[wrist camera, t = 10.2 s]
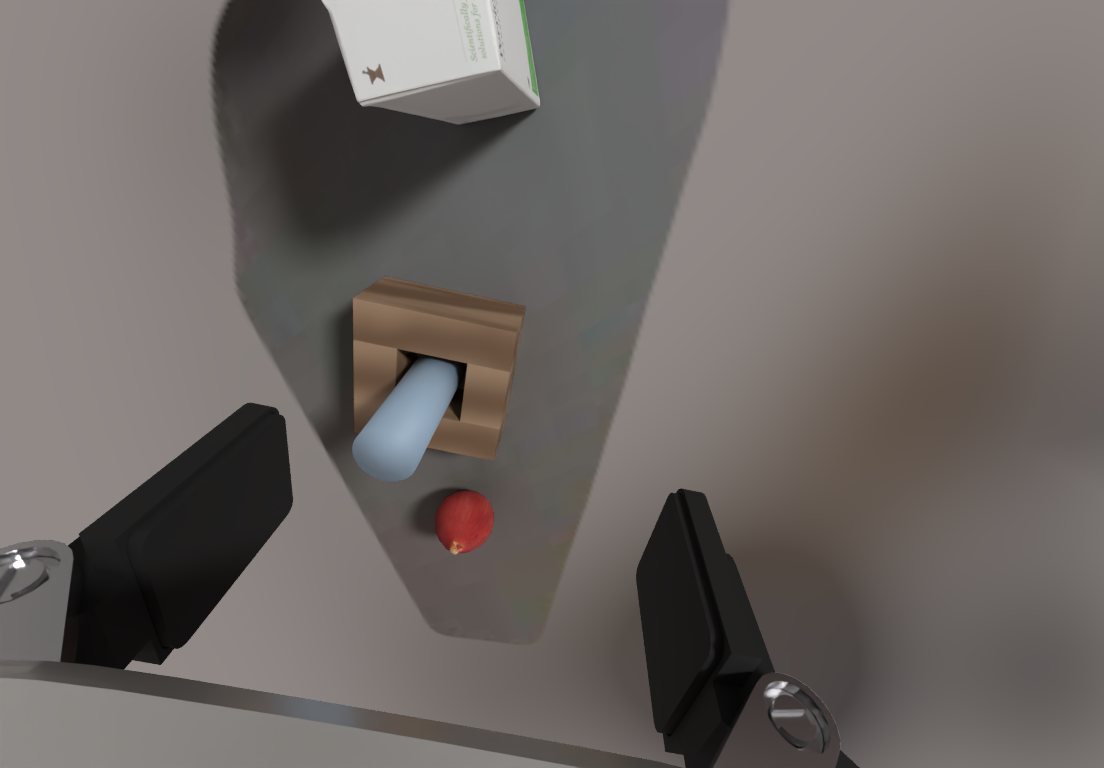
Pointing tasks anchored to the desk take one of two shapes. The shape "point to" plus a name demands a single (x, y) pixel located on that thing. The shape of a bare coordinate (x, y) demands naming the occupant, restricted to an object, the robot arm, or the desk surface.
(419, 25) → the skincare box
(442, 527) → the onion
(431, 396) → the pin
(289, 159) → the desk surface
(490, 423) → the bore block
